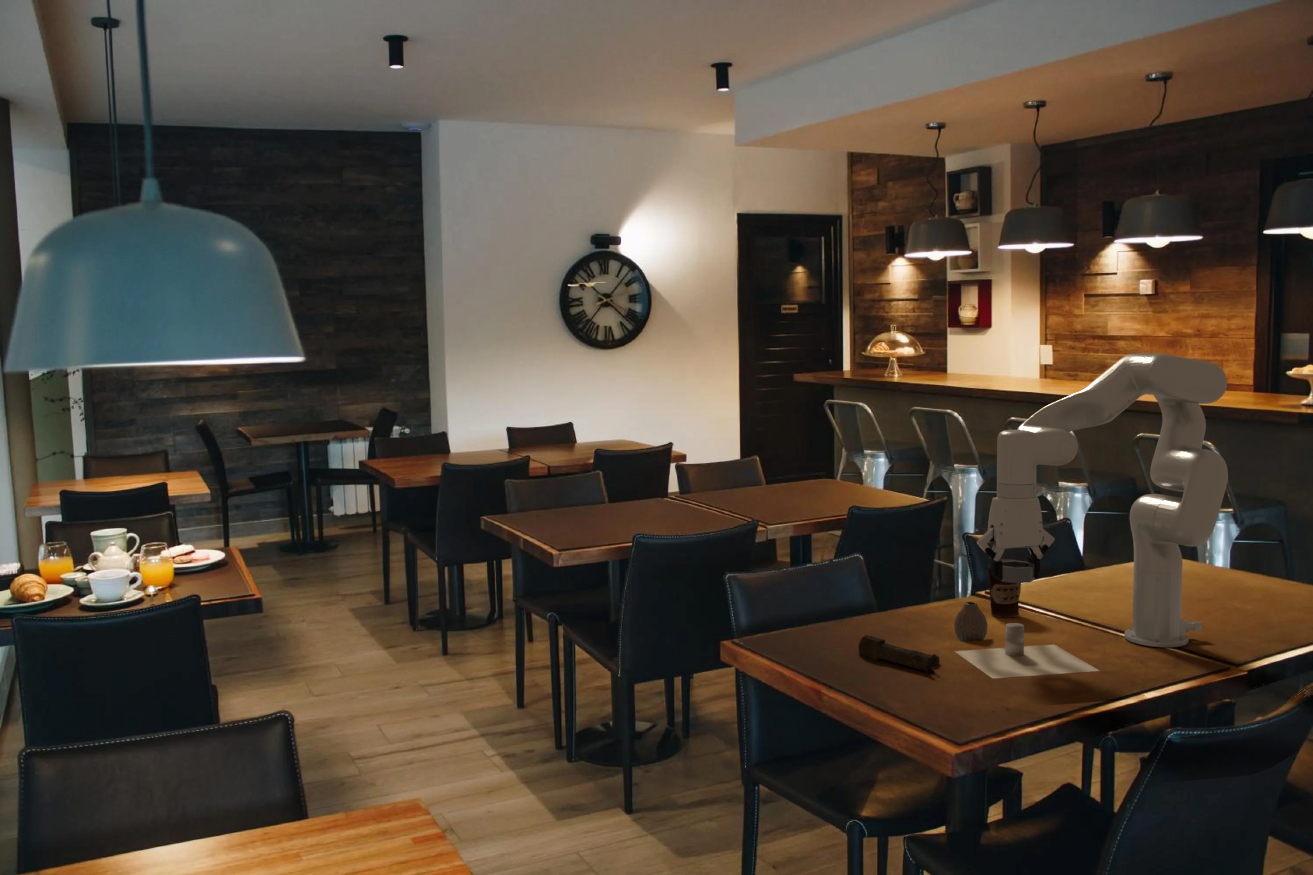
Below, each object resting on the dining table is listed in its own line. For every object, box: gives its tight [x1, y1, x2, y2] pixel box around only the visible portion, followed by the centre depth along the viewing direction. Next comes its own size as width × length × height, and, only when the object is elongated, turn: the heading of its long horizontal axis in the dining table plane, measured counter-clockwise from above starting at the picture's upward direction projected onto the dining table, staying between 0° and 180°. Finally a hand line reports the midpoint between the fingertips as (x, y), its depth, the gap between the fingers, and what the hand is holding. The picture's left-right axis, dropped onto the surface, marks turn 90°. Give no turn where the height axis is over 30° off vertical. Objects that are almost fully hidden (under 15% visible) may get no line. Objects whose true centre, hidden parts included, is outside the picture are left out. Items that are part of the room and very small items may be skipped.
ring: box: [1001, 559, 1036, 584], centre depth 225 cm, size 7×7×3 cm
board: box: [954, 622, 1101, 679], centre depth 222 cm, size 22×18×8 cm
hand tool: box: [858, 634, 940, 676], centre depth 227 cm, size 19×4×5 cm, turn 39°
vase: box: [953, 601, 988, 642], centre depth 240 cm, size 7×7×9 cm
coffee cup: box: [986, 558, 1022, 618], centre depth 261 cm, size 9×8×13 cm
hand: (1015, 577), depth 225 cm, fingers closed on ring, 7 cm apart
